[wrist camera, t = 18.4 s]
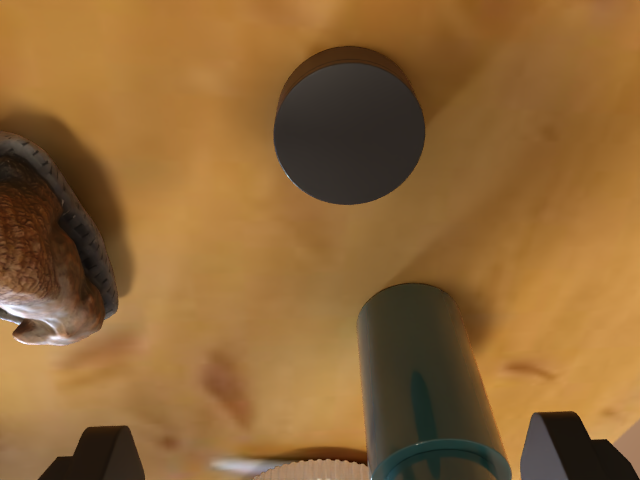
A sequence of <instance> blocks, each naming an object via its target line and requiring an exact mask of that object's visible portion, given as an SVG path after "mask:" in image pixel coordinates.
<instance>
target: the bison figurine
mask: <svg viewBox="0 0 640 480" xmlns="http://www.w3.org/2000/svg"><path fill="white" fill-rule="evenodd" d="M117 309H118V293H117V288H116V283H115V277H114V273H113V269H112V266H111V263H110V261H109V258H108V255H107V252H106V249H105V245H104V242H103V239H102V237H101V234H100V232H99V230H98V228H97V227H96V225H95V223H94V222H93V220H92V219H91V217H90V216H89V215H88V213H87V212H86V211H85V209H84V208H83V207H82V205H81V204H80V202H79V200H78V199H77V197H76V195H75V194H74V192H73V190H72V189H71V187H70V186H69V184H68V183H67V181H66V180H65V178H64V176H63V175H62V173H61V172H60V170H59V169H58V167H57V166H56V164H55V163H54V161H53V160H52V159H51V157H50V156H49V155H48V153H47V152H46V151H44V150H43V149H42V148H40V147H39V146H38V145H36V144H35V143H33V142H31V141H30V140H28V139H26V138H24V137H21V136H19V135H17V134H14V133H11V132H5V131H0V319H3V320H8V321H10V322H14V323H16V324H19V326H18V327H17V329H16V330H15V331H14V332H13V337H14V338H15V339H16V340H17V341H19V342H22V343H24V344H35V345H43V344H48V345H57V346H61V345H69V344H72V343H75V342H78V341H80V340H82V339H84V338H86V337H88V336H89V335H91V334H93V333H95V332H97V331H99V330H100V329H101V327H102V323H103V321H104V320H105V319H107V318H109V317H110V316H112V315H113V314H115V313H116V311H117Z"/></svg>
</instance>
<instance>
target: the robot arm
mask: <svg viewBox="0 0 640 480" xmlns="http://www.w3.org/2000/svg"><path fill="white" fill-rule="evenodd" d="M520 472H521V480H640V479H639V478H638V476H637V474H636V472H635V470H634V469H633V467H632V465H631V463H630V462H629V461H628V460H627V459H626V458H625V457H624V456H623V455H622V454H621V453H620V452H619V451H618V450H617V449H616V448H615V447H614V446H613V445H612V444H611V443H610V442H609V441H608V440H607V439H601V440H591V439H590V437H589V435H588V433H587V431H586V429H585V427H584V425H583V423H582V421H581V419H580V417H579V416H578V415H577V414H576V413H575V412H572V411H567V412H538V413H534V414H533V415H532V417H531V420H530V424H529V428H528V432H527V436H526V440H525V444H524V448H523V452H522V456H521V462H520ZM38 480H145V475H144V470H143V467H142V464H141V461H140V458H139V455H138V452H137V449H136V446H135V443H134V440H133V437H132V434H131V431H130V429H129V427H128V426H100V427H88V428H86V429H85V431H84V432H83V434H82V436H81V438H80V440H79V443H78V445H77V447H76V450H75V452H74V455H73V456H67V457H57V458H56V460H55V461H54V462H53V463H52V464H51V465H50V466H49V467H48V469H47V470H46V471H45V472H44V473H43V474H42V475H41V477H40V478H39V479H38Z"/></svg>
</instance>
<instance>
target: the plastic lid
mask: <svg viewBox="0 0 640 480" xmlns="http://www.w3.org/2000/svg"><path fill="white" fill-rule="evenodd" d="M251 480H253V479H251ZM254 480H369V473H368V467H367V466H365V464H357V462H352V463H350V462H348V461H346V460H344V461H340V460H337V459H336V460H335V461H331V459H326V460H322V459H317V461H313V460H312V459H311V460H308V461H303V460H302V461H299V462H298V463H295V462H291V464H289V465H287V464H283V466H281V467H279V466H277V467H275V469H273V470H272V469H269V470H268V472H266V473H265V472H262V473H261V475H260V476H255V479H254Z"/></svg>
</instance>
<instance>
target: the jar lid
mask: <svg viewBox="0 0 640 480" xmlns="http://www.w3.org/2000/svg"><path fill="white" fill-rule="evenodd" d="M424 140H425V123H424V117H423V113H422V110H421V107H420V105H419V102H418V100H417V98H416V96H415V93H414V91H413V89H412V87H411V84H410V82H409V80H408V79H407V77H406V76H405V74H404V73H403V72H402V70H401V69H400V68H399V67H398V66H397V65H396V64H395V63H393V62H392V61H391V60H390V59H388V58H387V57H385V56H383V55H381V54H379V53H377V52H375V51H372V50H369V49H366V48H360V47H337V48H333V49H328V50H325V51H323V52H320V53H318V54H316V55H314V56H312V57H310V58H309V59H307V60H306V61H305V62H303V63H302V64H301V65H300V66H299V67H298V68H297V69H296V70H295V71H294V72H293V73H292V74H291V76H290V77H289V78H288V80H287V82H286V84H285V85H284V87H283V90H282V92H281V95H280V98H279V102H278V107H277V113H276V119H275V125H274V146H275V151H276V155H277V158H278V161H279V163H280V165H281V167H282V169H283V170H284V172H285V174H286V175H287V176H288V177H289V179H290V180H291V181H292V182H293V183H294V184H295V185H296V186H297V187H298V188H300V189H301V190H302V191H304V192H305V193H307V194H308V195H310V196H312V197H314V198H316V199H319V200H321V201H325V202H328V203H333V204H340V205H353V204H361V203H366V202H370V201H373V200H376V199H378V198H381V197H383V196H385V195H387V194H388V193H390V192H392V191H393V190H394V189H396V188H397V187H398V186H400V185H401V184H402V183H403V182H404V181H405V180H406V179H407V178H408V176H409V175H410V174H411V172H412V171H413V170H414V168H415V166H416V165H417V163H418V161H419V158H420V156H421V153H422V150H423V146H424Z"/></svg>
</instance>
